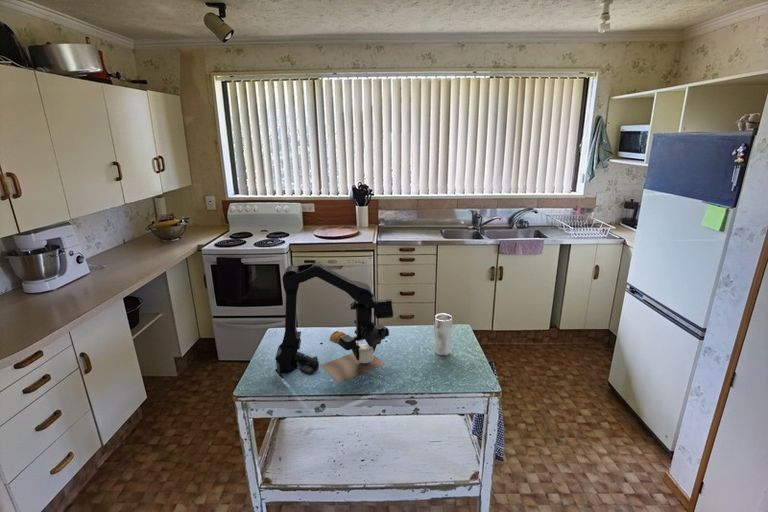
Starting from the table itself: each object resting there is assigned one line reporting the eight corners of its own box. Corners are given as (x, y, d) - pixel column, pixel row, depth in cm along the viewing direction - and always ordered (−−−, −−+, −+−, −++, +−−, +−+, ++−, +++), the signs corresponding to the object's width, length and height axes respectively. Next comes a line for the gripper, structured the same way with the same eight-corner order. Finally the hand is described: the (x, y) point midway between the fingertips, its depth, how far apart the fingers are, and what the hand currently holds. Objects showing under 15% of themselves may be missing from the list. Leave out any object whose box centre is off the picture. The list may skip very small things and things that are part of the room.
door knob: (363, 369, 143) (363, 359, 142) (358, 365, 146) (358, 355, 145) (372, 366, 145) (371, 356, 144) (366, 362, 148) (366, 352, 147)
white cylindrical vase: (454, 354, 153) (456, 319, 148) (438, 357, 150) (440, 322, 146) (445, 345, 159) (446, 312, 155) (430, 349, 156) (431, 315, 152)
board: (339, 386, 134) (339, 382, 133) (320, 367, 144) (320, 364, 144) (386, 366, 145) (386, 363, 145) (365, 350, 156) (365, 348, 155)
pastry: (355, 343, 162) (354, 335, 161) (343, 349, 157) (342, 341, 156) (340, 336, 168) (339, 328, 167) (328, 342, 163) (327, 333, 162)
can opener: (324, 371, 143) (323, 357, 141) (308, 379, 138) (307, 365, 136) (296, 354, 155) (295, 341, 153) (281, 361, 150) (279, 348, 148)
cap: (353, 357, 145) (353, 346, 144) (367, 352, 148) (366, 342, 147) (362, 364, 140) (362, 353, 139) (376, 359, 144) (376, 348, 143)
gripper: (353, 334, 128) (355, 376, 133) (398, 319, 139) (398, 358, 143) (336, 322, 137) (338, 361, 141) (380, 309, 148) (380, 346, 152)
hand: (364, 357), depth 144 cm, fingers closed on cap, 6 cm apart
